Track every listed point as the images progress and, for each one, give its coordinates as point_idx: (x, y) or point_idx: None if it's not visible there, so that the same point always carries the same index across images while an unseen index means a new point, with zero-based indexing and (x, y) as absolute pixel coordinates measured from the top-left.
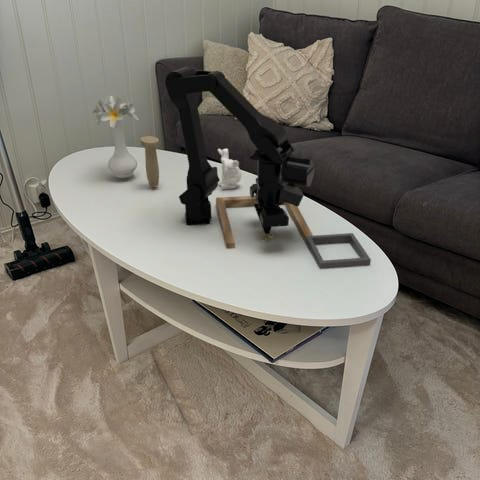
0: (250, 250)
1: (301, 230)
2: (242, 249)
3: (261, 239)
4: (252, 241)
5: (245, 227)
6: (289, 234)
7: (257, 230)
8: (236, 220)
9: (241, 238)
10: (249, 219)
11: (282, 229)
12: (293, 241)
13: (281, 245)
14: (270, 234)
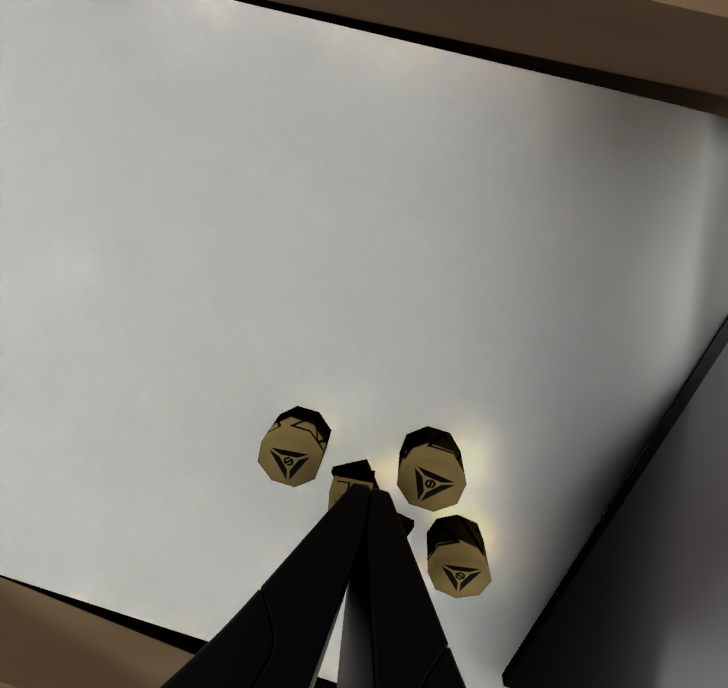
0: (512, 655)
1: (621, 23)
2: (469, 683)
3: (458, 592)
4: None
5: (161, 533)
6: (420, 213)
7: (231, 478)
8: (44, 537)
9: None
10: (31, 449)
11: (278, 240)
12: (602, 248)
13: (595, 420)
14: (407, 482)
